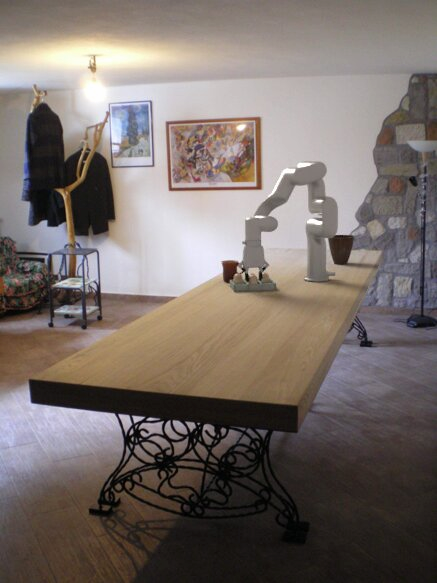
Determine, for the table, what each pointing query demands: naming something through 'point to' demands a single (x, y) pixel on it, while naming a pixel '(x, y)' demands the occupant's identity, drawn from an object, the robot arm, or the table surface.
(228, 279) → the mug
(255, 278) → the egg
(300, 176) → the robot arm
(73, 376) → the table surface
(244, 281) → the carton
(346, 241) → the plant pot
